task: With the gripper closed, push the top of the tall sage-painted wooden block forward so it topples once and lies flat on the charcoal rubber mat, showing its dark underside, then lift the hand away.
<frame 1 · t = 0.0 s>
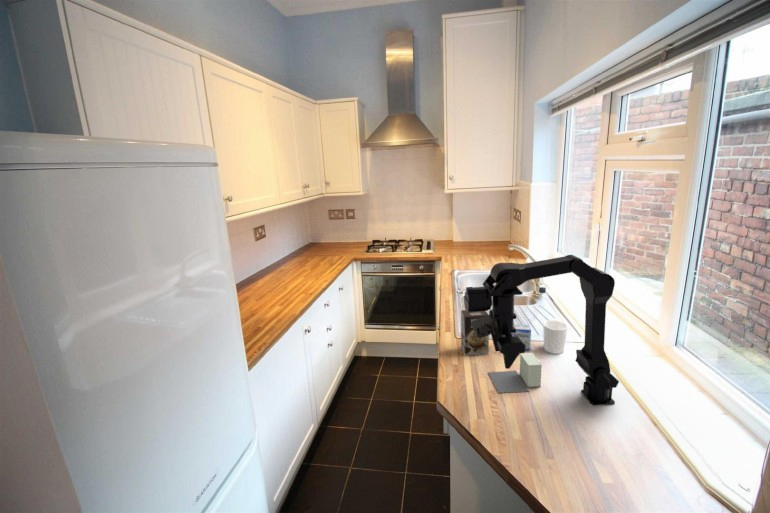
hand: (502, 359, 101), 15 cm above the countertop, fingers open, 9 cm apart
brown cookie box: (474, 351, 133), on the countertop
white cup: (553, 350, 131), on the countertop
medicine box: (518, 347, 134), on the countertop
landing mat: (507, 381, 114), on the countertop
sage block: (529, 380, 114), on the countertop
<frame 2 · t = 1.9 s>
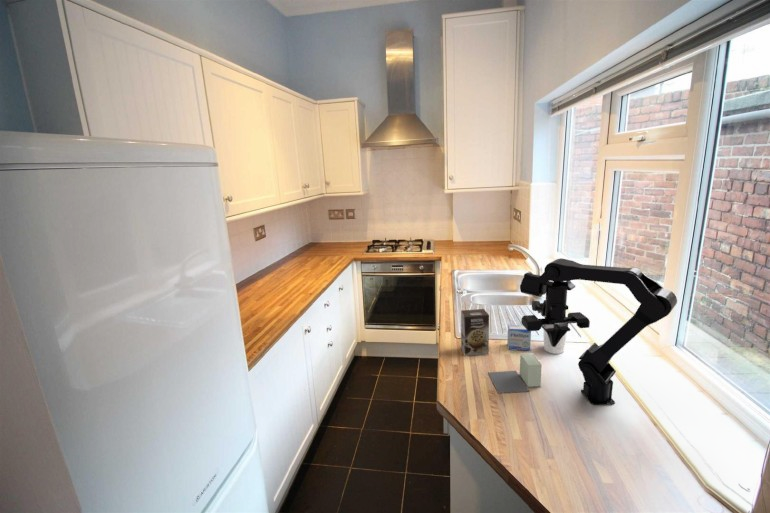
hand: (553, 346, 111), 12 cm above the countertop, fingers closed
nothing on the countertop moved.
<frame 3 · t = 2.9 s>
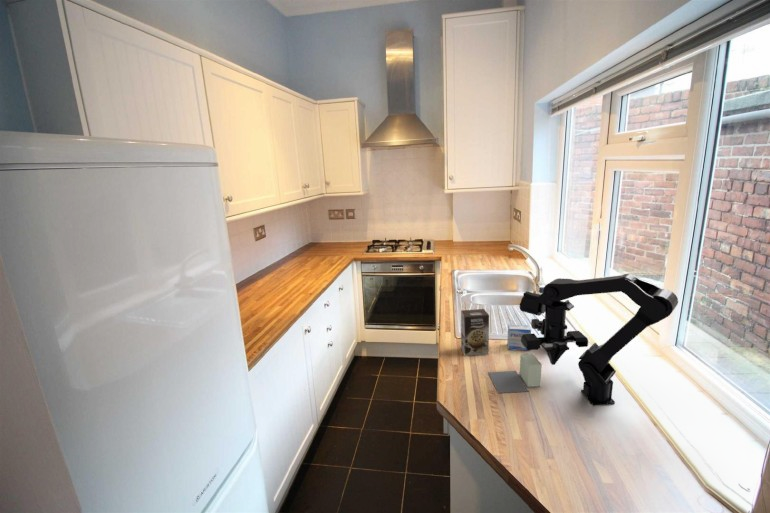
hand: (552, 364, 112), 6 cm above the countertop, fingers closed
nothing on the countertop moved.
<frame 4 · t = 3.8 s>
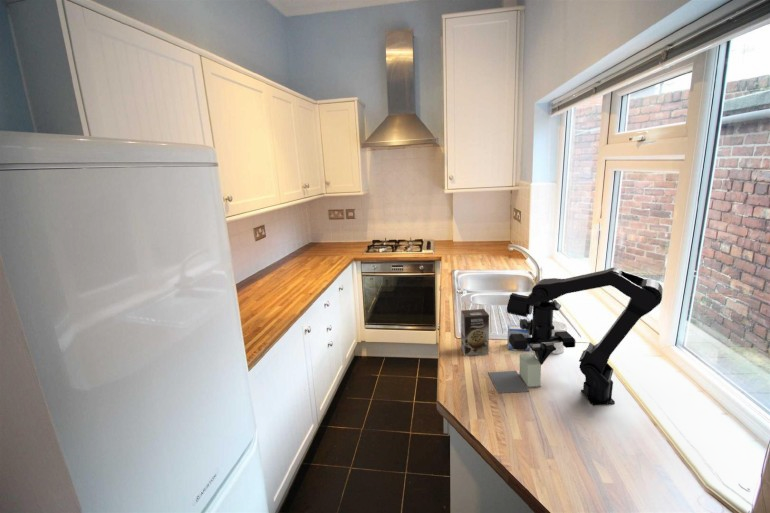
hand: (540, 364, 112), 6 cm above the countertop, fingers closed
sage block: (529, 380, 114), on the countertop, touching gripper
everything else where it was.
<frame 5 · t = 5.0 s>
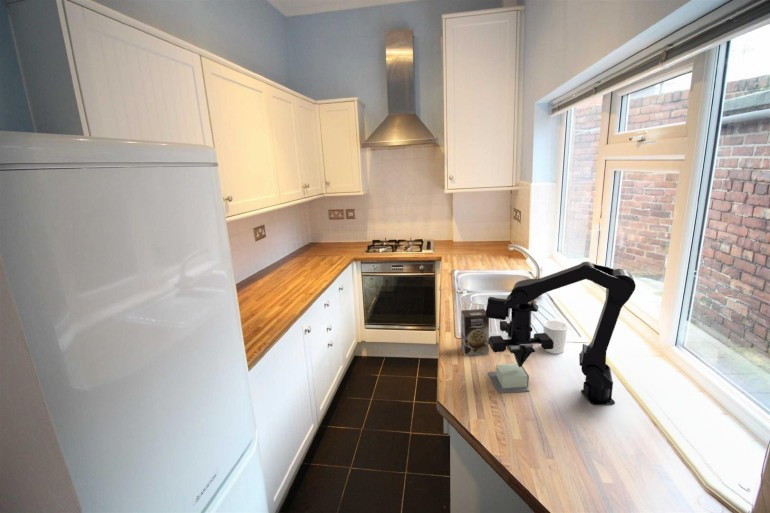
hand: (519, 366, 112), 6 cm above the countertop, fingers closed
sage block: (524, 374, 113), point 2 cm above the countertop, tilted 90°, touching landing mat
everything else where it was.
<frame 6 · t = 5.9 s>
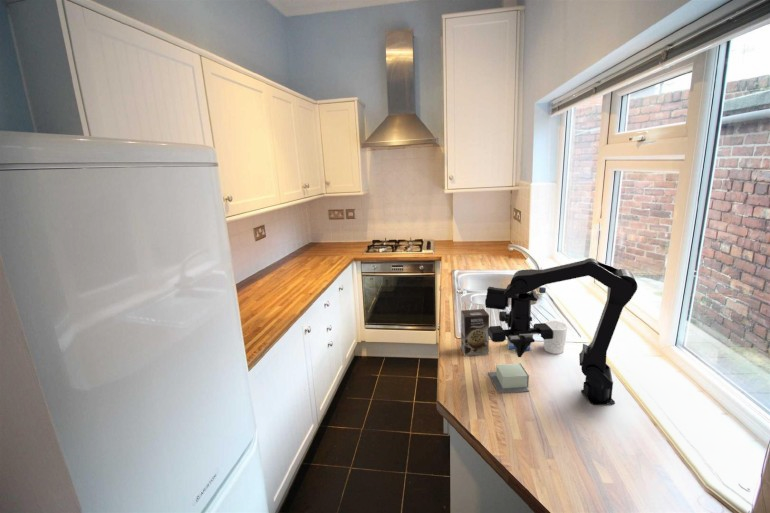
hand: (519, 356, 112), 9 cm above the countertop, fingers closed
nothing on the countertop moved.
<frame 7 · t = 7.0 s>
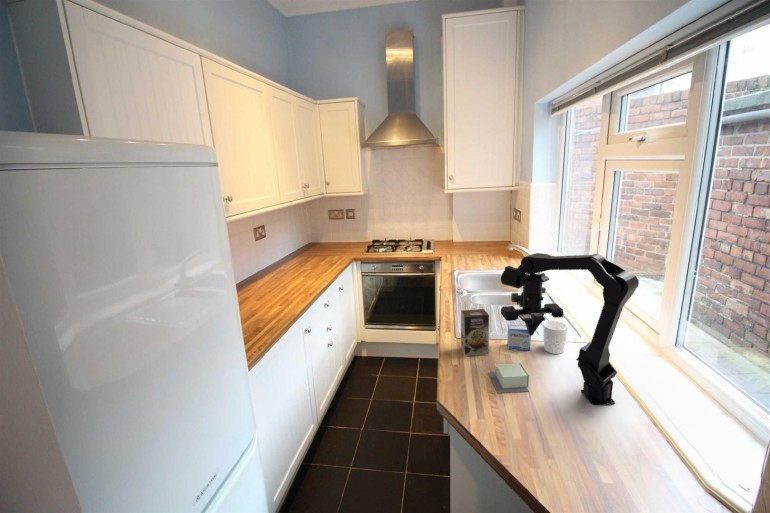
hand: (530, 335, 118), 12 cm above the countertop, fingers closed
nothing on the countertop moved.
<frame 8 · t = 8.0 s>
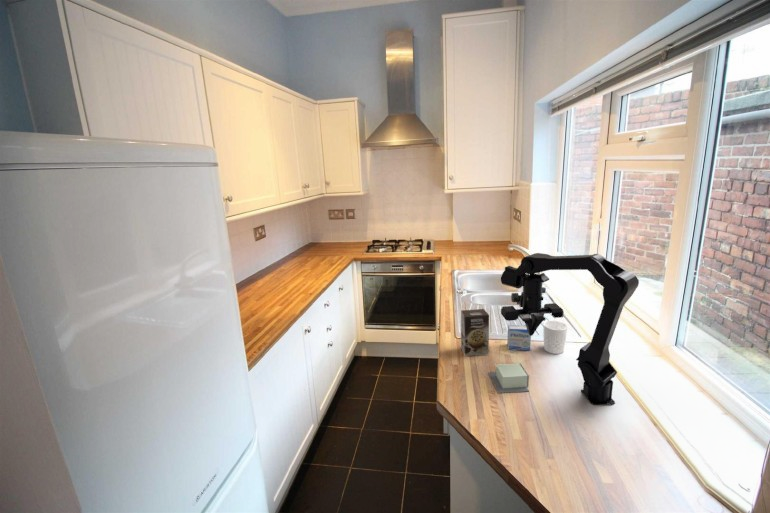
hand: (530, 335, 118), 12 cm above the countertop, fingers closed
nothing on the countertop moved.
at the end: sage block tilted 90°; sage block inside the target area (1.2 cm from its centre), point 2.3 cm above the countertop; sage block touching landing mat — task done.
